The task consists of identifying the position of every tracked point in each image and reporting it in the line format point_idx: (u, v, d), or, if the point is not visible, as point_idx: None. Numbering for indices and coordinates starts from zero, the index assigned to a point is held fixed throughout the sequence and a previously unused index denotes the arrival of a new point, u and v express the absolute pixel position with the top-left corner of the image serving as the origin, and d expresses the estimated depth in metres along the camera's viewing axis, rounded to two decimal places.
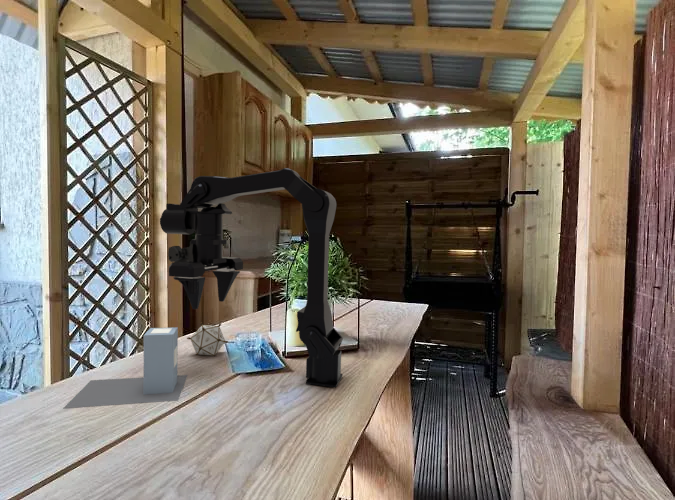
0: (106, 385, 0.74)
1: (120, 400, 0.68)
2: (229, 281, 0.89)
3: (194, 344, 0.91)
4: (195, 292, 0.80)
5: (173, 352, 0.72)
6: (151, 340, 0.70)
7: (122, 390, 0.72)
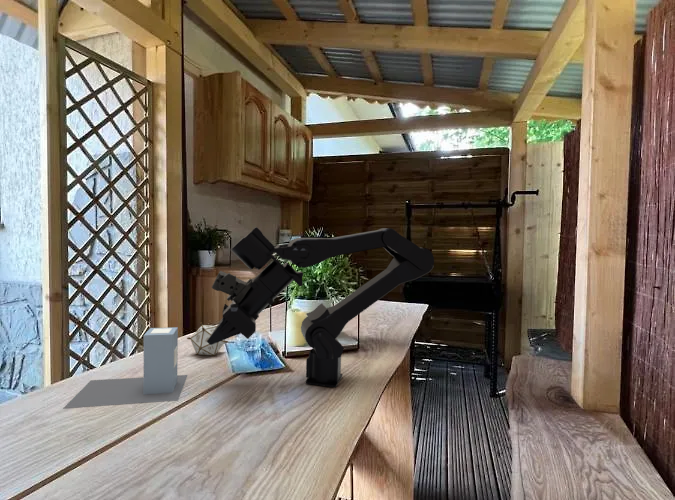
0: (106, 385, 0.74)
1: (120, 400, 0.68)
2: None
3: (194, 344, 0.91)
4: (226, 334, 0.74)
5: (173, 352, 0.72)
6: (151, 340, 0.70)
7: (122, 390, 0.72)
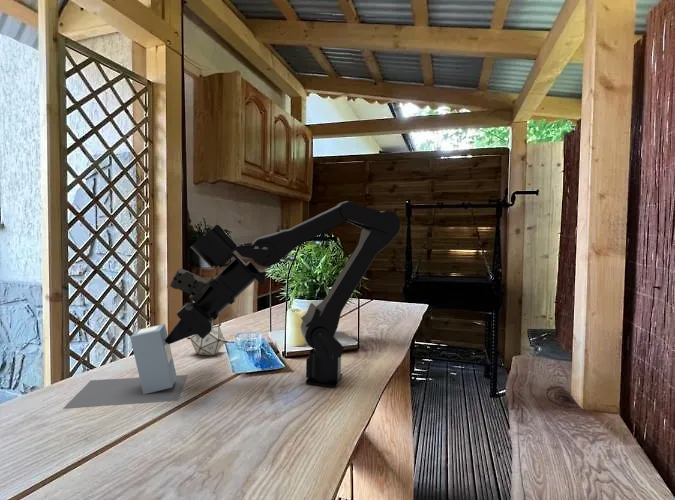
0: (106, 385, 0.74)
1: (120, 400, 0.68)
2: None
3: (194, 344, 0.91)
4: (185, 334, 0.72)
5: (164, 348, 0.71)
6: (138, 340, 0.70)
7: (122, 390, 0.72)
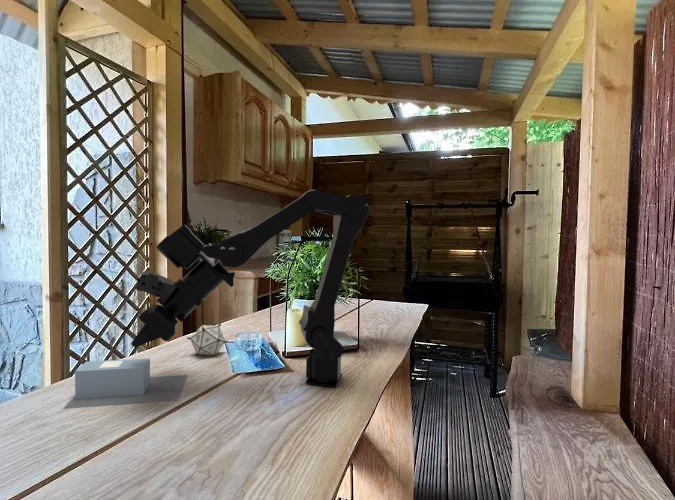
0: None
1: (120, 400, 0.68)
2: None
3: (194, 344, 0.91)
4: (151, 336, 0.71)
5: (98, 369, 0.69)
6: (81, 391, 0.68)
7: None
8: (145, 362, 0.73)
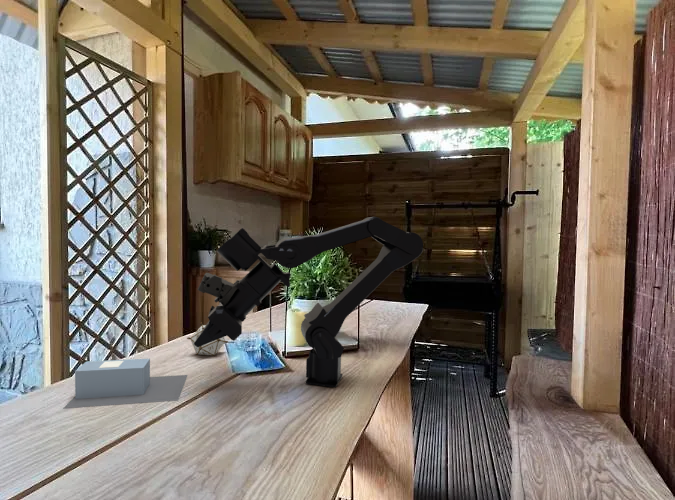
0: None
1: (120, 400, 0.68)
2: None
3: None
4: (213, 336, 0.74)
5: (98, 369, 0.69)
6: (81, 391, 0.68)
7: None
8: (145, 362, 0.73)
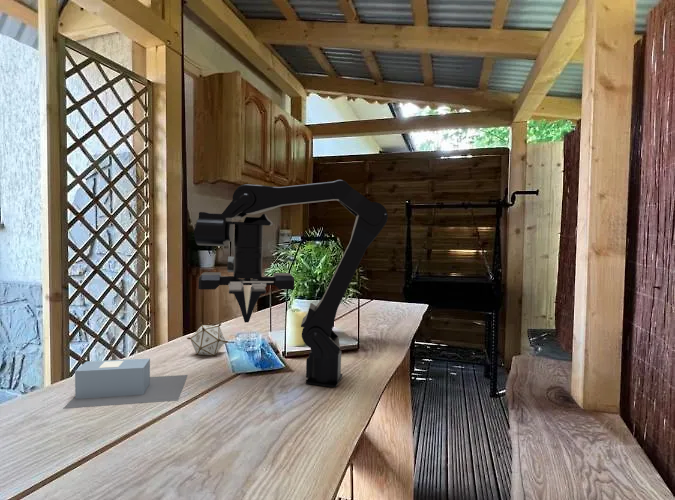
0: None
1: (120, 400, 0.68)
2: (249, 301, 0.78)
3: (194, 344, 0.91)
4: None
5: (98, 369, 0.69)
6: (81, 391, 0.68)
7: None
8: (145, 362, 0.73)
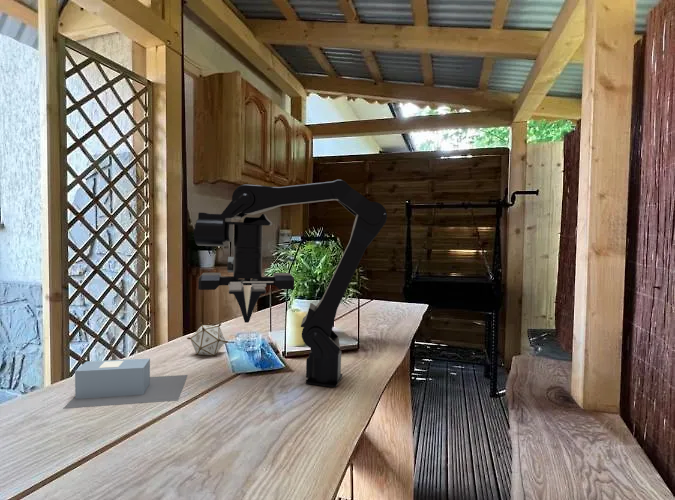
0: None
1: (120, 400, 0.68)
2: (249, 301, 0.78)
3: (194, 344, 0.91)
4: None
5: (98, 369, 0.69)
6: (81, 391, 0.68)
7: None
8: (145, 362, 0.73)
